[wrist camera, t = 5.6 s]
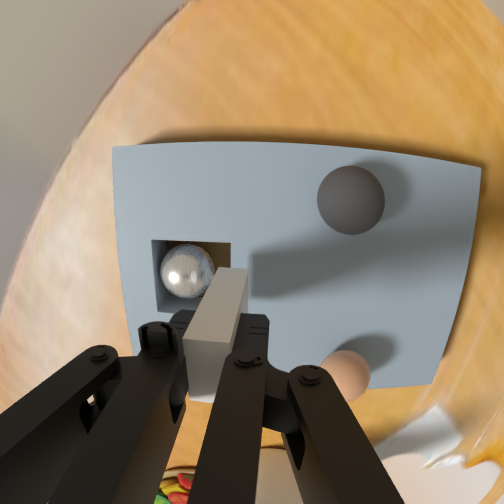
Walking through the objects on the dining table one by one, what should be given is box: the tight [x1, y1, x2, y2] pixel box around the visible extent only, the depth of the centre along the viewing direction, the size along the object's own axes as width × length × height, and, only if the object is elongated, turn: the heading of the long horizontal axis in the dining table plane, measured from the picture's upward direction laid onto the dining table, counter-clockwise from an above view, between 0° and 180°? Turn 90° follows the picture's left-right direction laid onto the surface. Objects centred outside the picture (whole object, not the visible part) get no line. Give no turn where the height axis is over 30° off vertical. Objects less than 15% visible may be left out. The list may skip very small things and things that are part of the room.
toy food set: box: [154, 468, 196, 504], centre depth 28 cm, size 13×13×3 cm
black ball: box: [317, 166, 385, 235], centre depth 14 cm, size 3×3×3 cm
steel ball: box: [160, 244, 215, 298], centre depth 18 cm, size 3×3×3 cm
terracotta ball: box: [319, 350, 371, 402], centre depth 17 cm, size 3×3×3 cm
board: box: [112, 142, 481, 389], centre depth 18 cm, size 21×15×2 cm
